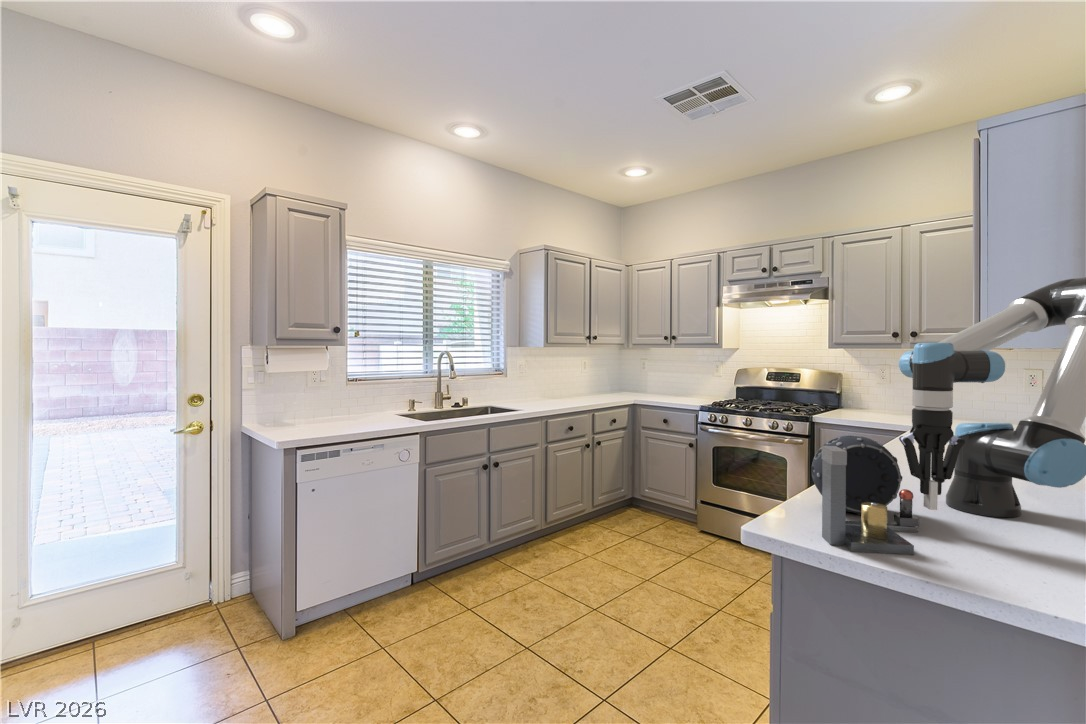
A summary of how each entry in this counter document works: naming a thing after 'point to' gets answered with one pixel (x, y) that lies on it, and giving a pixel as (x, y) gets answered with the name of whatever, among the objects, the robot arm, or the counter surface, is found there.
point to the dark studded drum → (863, 472)
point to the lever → (906, 510)
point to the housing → (874, 520)
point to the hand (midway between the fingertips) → (930, 507)
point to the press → (835, 513)
